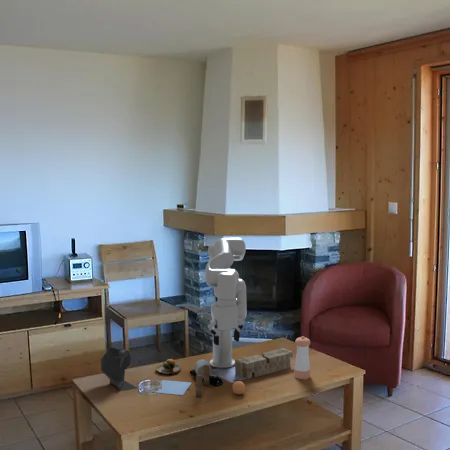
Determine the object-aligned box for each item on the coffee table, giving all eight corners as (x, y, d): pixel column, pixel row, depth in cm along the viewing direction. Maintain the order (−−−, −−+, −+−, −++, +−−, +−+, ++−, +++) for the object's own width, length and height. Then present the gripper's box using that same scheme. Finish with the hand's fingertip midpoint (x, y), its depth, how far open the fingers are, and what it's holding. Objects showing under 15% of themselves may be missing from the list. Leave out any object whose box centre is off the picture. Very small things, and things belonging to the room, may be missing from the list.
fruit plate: (154, 368, 272) (153, 353, 271) (177, 366, 276) (177, 351, 275) (159, 377, 261) (158, 362, 260) (183, 374, 264) (183, 359, 264)
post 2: (204, 383, 253) (204, 364, 252) (209, 384, 252) (209, 364, 251) (202, 385, 250) (202, 366, 249) (208, 386, 250) (208, 366, 249)
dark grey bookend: (128, 376, 261) (128, 338, 259) (138, 388, 248) (137, 348, 246) (98, 381, 255) (97, 343, 253) (106, 393, 242) (105, 353, 240)
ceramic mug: (197, 380, 256) (197, 365, 255) (194, 374, 264) (194, 359, 263) (219, 379, 258) (219, 363, 257) (215, 373, 266) (215, 358, 265)
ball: (233, 390, 245) (233, 378, 244) (246, 391, 244) (246, 379, 243) (231, 395, 239) (231, 383, 239) (243, 396, 238) (243, 384, 238)
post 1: (196, 394, 240) (196, 374, 239) (202, 395, 240) (202, 374, 239) (195, 397, 238) (195, 376, 237) (201, 397, 237) (201, 377, 236)
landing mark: (162, 380, 256) (162, 380, 256) (191, 383, 253) (191, 382, 253) (151, 392, 243) (151, 392, 243) (182, 395, 240) (182, 394, 240)
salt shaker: (305, 372, 266) (305, 333, 264) (313, 378, 259) (313, 337, 257) (291, 374, 263) (292, 335, 261) (299, 380, 257) (299, 339, 255)
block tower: (244, 382, 258) (293, 367, 273) (244, 364, 256) (293, 350, 272) (234, 376, 264) (283, 362, 280) (234, 359, 263) (283, 346, 279)
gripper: (239, 298, 239) (239, 337, 241) (203, 303, 231) (203, 343, 232) (249, 301, 233) (248, 341, 235) (212, 306, 224) (212, 348, 226)
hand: (226, 342), depth 233 cm, fingers open, 9 cm apart
